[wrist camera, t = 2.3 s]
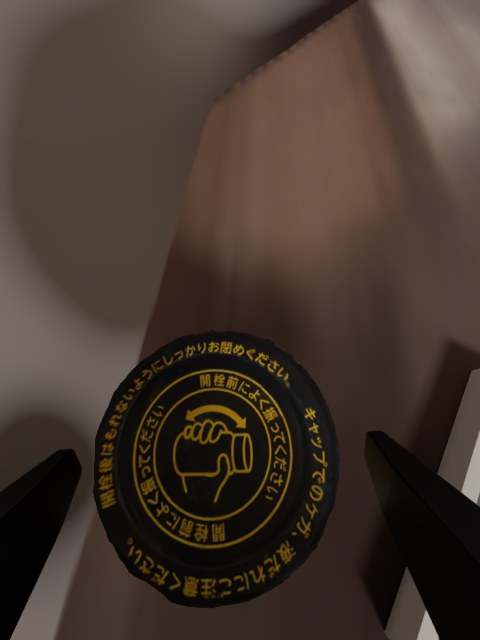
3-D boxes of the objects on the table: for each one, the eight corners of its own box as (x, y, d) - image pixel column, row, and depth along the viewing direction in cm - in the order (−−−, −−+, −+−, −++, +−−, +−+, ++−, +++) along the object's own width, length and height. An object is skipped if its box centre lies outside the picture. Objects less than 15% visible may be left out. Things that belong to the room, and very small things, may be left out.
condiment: (233, 532, 15) (150, 834, 4) (153, 404, 18) (-29, 358, 7) (330, 440, 16) (485, 462, 5) (241, 336, 19) (215, 201, 8)
